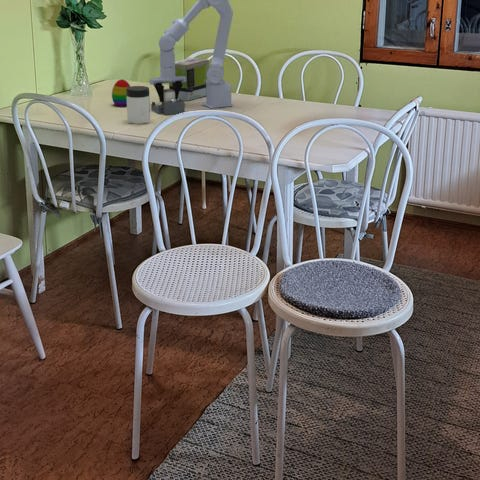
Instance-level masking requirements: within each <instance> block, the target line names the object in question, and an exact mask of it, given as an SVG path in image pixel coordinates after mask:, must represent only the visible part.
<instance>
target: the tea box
mask: <svg viewBox="0 0 480 480" xmlns="http://www.w3.org/2000/svg"><path fill="white" fill-rule="evenodd" d="M209 67H210V59H205V58H204V59H203V58H197V57H189V58H183V59H179V60H175V76H185V77H186V82H181V83H183V85H182V87H181V89H180V92H179V95H178V99H179V100H183V101H184V102H185V101H187V102H189V101H192V100H195V99H199V98H203V97H206V81H208V80H207V77H206V74H207V71H208V68H209ZM168 87H169V88H168V89H173V86H172V83H168ZM178 99H177V100H178Z"/></svg>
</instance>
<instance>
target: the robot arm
mask: <svg viewBox="0 0 480 480" xmlns="http://www.w3.org/2000/svg"><path fill="white" fill-rule="evenodd" d="M210 7H212V8H213V9H215V10H216V12H217V13H218V14H219V17H220V18H219V20H218V21H219V22H218V26H217V33H216V37H215V38H216V39H215V41H214V42H215V44H214V48H213V53H212V58H211V62H210V64H209V68H208V71H207V74H206V77H207V80H208V81H206V96H205V98H206V99H205V100H206V101H205V102H202V106H205V107H207V108H209V109H216V108H226V107H233V104H232V86H231V84H230V82H228V81H225V80H224V79H223V76H225V75H224V74H225V70H224V62H225V56H226V52H227V51H226V50H227V45H228V41H229V37H230V31H231V27H232V21H233V15H234V10H233V8H232V5H231V2H230V0H197V1H196V2H195V3H194V5H193V6H192V7H191V8H190V9H189V10H188V12H187V13H186V14H185V15H184V16H183V17H182V18H177V19H174V20H173V21H172V22H171V23H172V25H170V27H169V28H167V30H166V29H165V30H164V32H163V33H164V34H163V35H161V36H160V38H159V39H158V46H159V67H160V70H159V72H160V73H159V74H160V75H159V76H160V77H156V78H155V77H154V78H149V84H150V85H151V86H152V85H153V87H154V88H155V89H154V90H155V91H156V93H157V97H158V99H159V103H161V104H162V102H164V97H163V92H164V89H165V86H164V85H163V84H169V83H172V86H173V90H174V91H175V99H177V100H178V95H179V92H180V89H181V87H182V85H183V83H181V82H186V77H185V76H175V61H176V55H175V46H176V43H177V42H179V41H180V40H181V39H182V38H183V36H185V34H186V33H187V32H188V31H189V29H190V26H189V25H190V24H191V22H192V21H193V20H194V19H195V18H196V17H197V16H198V15H199V14H200V13H201V12H202V11H203V10H206V9H207V8H208V9H209V8H210Z"/></svg>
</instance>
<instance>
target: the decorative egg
mask: <svg viewBox="0 0 480 480" xmlns="http://www.w3.org/2000/svg"><path fill="white" fill-rule="evenodd" d="M127 87H131V85H130V83H129V82H128V81H126V80H125V79H119V80H117V81H116V82H115V83H114V85H113V87H112V90H111V98H112V102H113V104H114V105H115V106H116V107H127V98H126V97H127V95H126V88H127Z"/></svg>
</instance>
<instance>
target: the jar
mask: <svg viewBox="0 0 480 480" xmlns="http://www.w3.org/2000/svg"><path fill="white" fill-rule="evenodd" d="M130 86H131V85H130ZM126 95H127V97H126V98H127V106H126V118H127V119H126V120H127V123H128V124H135V125H140V124H141V125H142V124H148V123H150V121H151V101H150V100H151V99H150V87H148V86H145V85H144V86H143V85H133V86H131V87H127V88H126Z"/></svg>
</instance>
